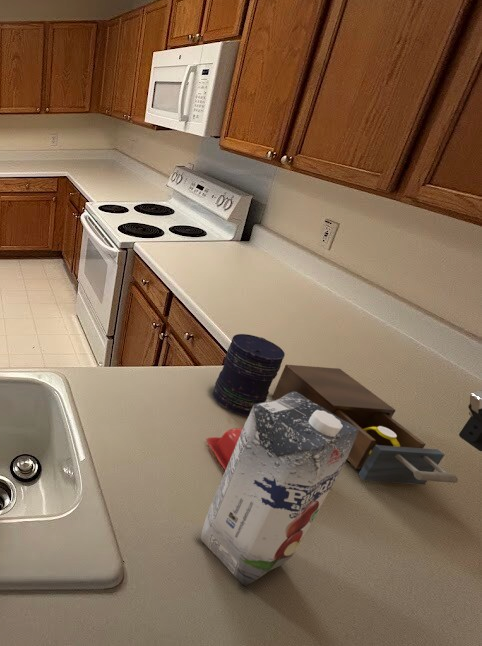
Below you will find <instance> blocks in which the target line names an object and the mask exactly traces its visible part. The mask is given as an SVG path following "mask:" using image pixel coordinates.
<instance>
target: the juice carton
mask: <svg viewBox="0 0 482 646" xmlns="http://www.w3.org/2000/svg"><path fill="white" fill-rule="evenodd" d="M242 428H243V430H242V432H241V434H240V437H239V439H238V441H237V444H236V446H235V449H234V451H233V453H232V456H231V458H230V461H229V463H228V465H227V468H226V470H224V473H223V475H222V478H221V480H220V482H219V485H218V487H217V489H216V491H215V495H214V497H213V499H212V501H211V504H210V507H209V508H208V511H207V513H206V516H205V520H204V524H203V527H202V531H201V534H200V539H201V541H202V542H203V544H204V546H206V547H207V548H208V549H209V550H210V551H211V552H212V554H213V555H214V556H216V558H217V559H218V560H219V561H220V562H221V563H222V564H223V565H224V566H225V567H226V568H227V570H228V571H229V572H230V573H231V574H232V575H233V577H235V578H236V580H237V581H239V583H240V584H241V585H243V586H249V585H251V584H253V583H254V582H256V581H257V580H259V579H260V578H262V577H263V576H264V575H265V574H267V573H268V572H271V571H273V570H274V569H277V568H279V567H280V566H281V565H284V563H286V562H287V561H289V560H290V559H291V558H292V557H293V556H294V554H295V552H296V551H297V549H298V548H299V546H300V544H301V543H302V541H303V539H304V537H305V535H306V534H307V532H308V530H309V528H310V527H311V524H312V523H313V521H314V519H315V518H316V516H317V514H318V513H319V511H320V509H321V507H322V505H323V504H324V501H325V500H326V498H327V496H328V494H329V493H330V492H331V491H330V490H331V489H332V487H333V485H334V484H335V482H336V480H337V478H338V476H339V475H340V473H341V472H342V469H343V468H344V465H345V463H346V462H347V461H348V460H347V457H348V455H349V453H350V451H351V448H352V446H353V444H354V441H355V439H356V437H357V435H358V432H359V429H357V428H356V427H355V426H353V425H351V424H349V423H348V422H346V421H344V420H342V419H341V418H339V417H337V416H336V415H334V414H332V413H331V412H329V411H327V410H326V409H324V408H322V407H321V406H319V405H317V404H316V403H314V402H312V401H310V400H309V399H307V398H305V397H304V396H302V395H301V394H299V393H297V392H295V391H293V392H290V393H288V394H287V395H285V396H283V397H282V398H280V399H278V400H275V399H274V400H270V401H266V402H263V403H258V404H255V405H253V407H252V410H251V412H250V414H249V417H248V416H247V419H246V421H245V423H244V425H243V427H242Z"/></svg>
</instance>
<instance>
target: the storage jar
mask: <svg viewBox="0 0 482 646" xmlns="http://www.w3.org/2000/svg"><path fill="white" fill-rule="evenodd" d="M285 355H286V353H285V351H284V350H283V349H282V348H281V347H280V346H279V345H277V344H276V343H274V342H272V341H270V340H268V339H266V338H264V337H260V336H256V335H252V334H246V333H238V334H235V335H233V336H232V339H231V342H230V344H229V346H228V348H227V351H226V354H225V357H224V361H225V362H224V364H223V367H222V369H221V371H220V372H219V374H218V377H217V378H216V381H215V385H214V389H213V390H212V397H213V399H214V400H215V402H216V403H217V404H218V405H220V406H221V407H222V408H224V409H225V410H227V411H229V412H231V413H233V414H235V415H239V416H242V417H247V418H248V417H249V414H250V412H251V410H252V407H253V405H255V404H258V403H263V402H267V400H268V399H267V398H268V396H269V394H270V393H269V390H270V387H271V386H272V383H273V381H274V380H275V378H276V377H277V376H278V372H279V371H280V369H281V366H282V362H283V360H284V358H285Z"/></svg>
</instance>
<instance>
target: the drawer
mask: <svg viewBox="0 0 482 646" xmlns="http://www.w3.org/2000/svg"><path fill="white" fill-rule="evenodd" d="M333 414H334V415H336V416H337V417H339V418H341V419H342V420H344V421H346V422H348V423H349V424H351V425H353V426H355V427H356V428H357V429H359V432H358V435H357V437H356V439H355V441H354V444H353V446H352V448H351V451H350V453H349V455H348V457H347V460H346V461H348V462H349V463H350V464H351V465H352V466H353V467H354V468H355V469H360V471H359V473H358V474H357V476H358V477H359V478H360V479H361V480H362V481H364V482H378V483H379V482H380V483H393V484H406V485H421V486H423V485H424V486H425V485H426V483H427V482H437V483H438V482H440V483H452V484H453V483H454V484H455V483H457V482H459V478H458V476H457V475H456V474H454V473H451V472H448V471H446V470H445V469H444V468H443V467H441V466H440V465H439V464H440V463H441V461H442V460H443V458H444V457H445V453H443V452H442V451H441V450H439V449H437V448H425V447H426V446H427V445H426V443H425V442H424V441H423V440H421V439H420V438H419V437H417V436H416V435H415V434H414V433H412V432H411V431H410V430H408V429H407V428H405V426H403V425H402V424H400V423H399V422H397V420H396V419H393V417H392V418H391V417H390V416H389V415H387V414H386V413H384V412H370V411H356V410H343V409H335V411H334V413H333ZM378 426H382V427H386V428H388V429H390V430H392V431H393V432H394V433H395V434H396V435H397V437H396V439H397V441H398V442H399V444H400V447H397V446H393V444H392V443H391V441H390V440H389V439H386V438H384V437H382V436H381V435H379V434H378V433H377V432H376V431H374V430H367V431H364V430H363V429H364V428H368V427H378ZM370 450H372V452H371V454H370V455H369V452H370ZM435 470H436V471H435Z"/></svg>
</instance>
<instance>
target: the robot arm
mask: <svg viewBox="0 0 482 646" xmlns="http://www.w3.org/2000/svg"><path fill="white" fill-rule="evenodd" d="M467 408H468V410H469V411H468V415H469V416H470V417H469V418H468V420H467V421H466V423H465V425H464V426H463V427H462V429H461V430H460V432H459V433H458V436H459V438H460V439H462V440H463V441H465V442H466V443H468V444H469V445H470V446H472V447H473V448H475V449H476V450H477V451H479V452H482V389H481V390H478V391H473V392H472V393H470V395H469V404H468V406H467Z"/></svg>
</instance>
